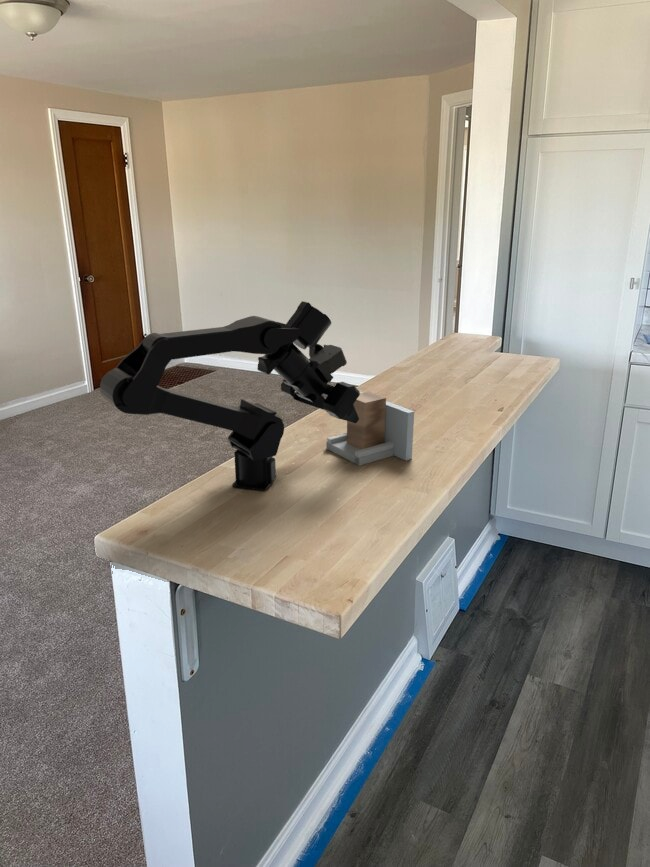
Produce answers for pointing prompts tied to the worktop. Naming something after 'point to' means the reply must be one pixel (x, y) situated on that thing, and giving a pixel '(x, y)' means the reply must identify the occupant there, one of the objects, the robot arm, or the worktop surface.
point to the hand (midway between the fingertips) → (342, 414)
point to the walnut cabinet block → (368, 421)
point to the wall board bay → (396, 439)
